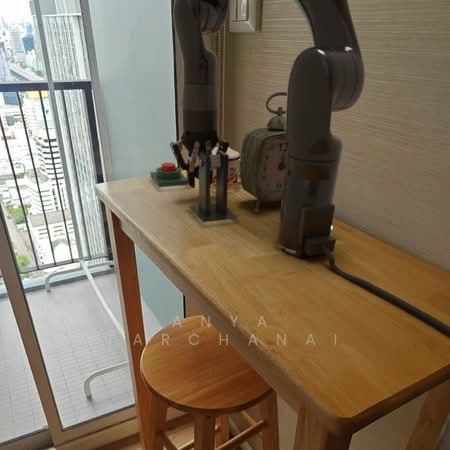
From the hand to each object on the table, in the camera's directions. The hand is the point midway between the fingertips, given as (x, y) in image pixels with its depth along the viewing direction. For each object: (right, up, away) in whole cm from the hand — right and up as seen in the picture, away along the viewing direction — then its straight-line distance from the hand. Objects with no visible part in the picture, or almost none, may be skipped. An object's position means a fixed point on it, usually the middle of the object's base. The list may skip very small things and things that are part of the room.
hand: (200, 186), depth 96 cm
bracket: (+3, -8, -5) cm, 10 cm away
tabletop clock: (+17, -5, +1) cm, 18 cm away
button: (-9, +8, +13) cm, 17 cm away
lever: (+2, +1, -6) cm, 6 cm away
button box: (-9, +5, +15) cm, 18 cm away
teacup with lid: (+6, +3, +14) cm, 15 cm away
